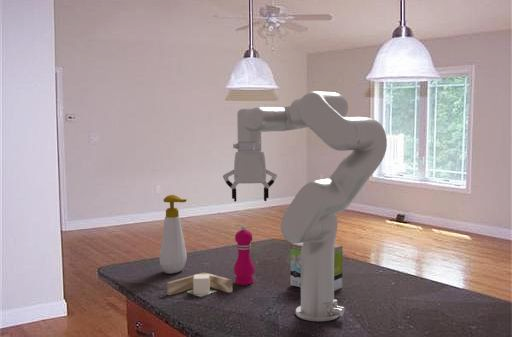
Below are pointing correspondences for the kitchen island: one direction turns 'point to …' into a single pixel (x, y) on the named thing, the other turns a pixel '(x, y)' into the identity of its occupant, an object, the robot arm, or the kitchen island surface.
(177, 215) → the soap bottle
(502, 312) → the kitchen island surface
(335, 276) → the tea box
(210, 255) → the kitchen island surface
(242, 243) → the pepper mill
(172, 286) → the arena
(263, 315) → the kitchen island surface
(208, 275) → the cube
